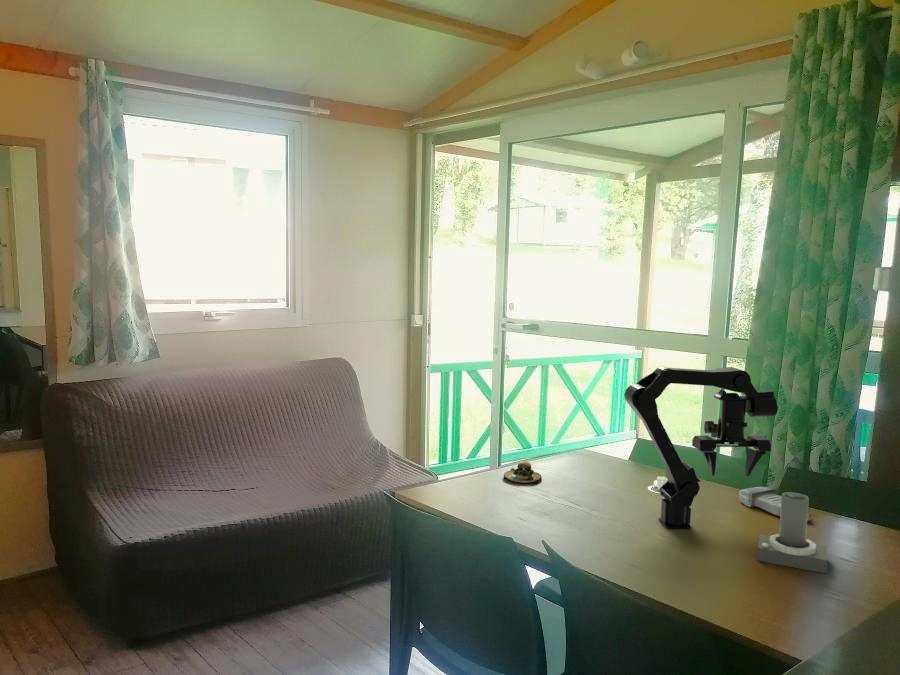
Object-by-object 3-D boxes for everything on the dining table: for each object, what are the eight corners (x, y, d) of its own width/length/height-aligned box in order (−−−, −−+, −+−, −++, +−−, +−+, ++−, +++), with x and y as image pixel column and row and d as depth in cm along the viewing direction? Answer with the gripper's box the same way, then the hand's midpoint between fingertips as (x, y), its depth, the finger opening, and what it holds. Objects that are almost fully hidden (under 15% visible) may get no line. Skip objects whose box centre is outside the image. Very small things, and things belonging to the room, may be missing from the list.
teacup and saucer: (653, 484, 212) (654, 471, 212) (679, 489, 208) (680, 476, 207) (643, 491, 205) (644, 478, 205) (670, 497, 201) (670, 483, 200)
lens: (780, 549, 155) (783, 497, 154) (777, 540, 160) (780, 490, 159) (809, 553, 153) (812, 500, 152) (804, 544, 158) (808, 493, 157)
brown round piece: (495, 479, 214) (496, 456, 214) (520, 472, 222) (521, 450, 222) (524, 489, 206) (525, 464, 205) (549, 481, 214) (550, 458, 213)
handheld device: (798, 527, 178) (799, 509, 177) (734, 503, 196) (735, 487, 195) (822, 521, 182) (823, 504, 182) (758, 498, 200) (759, 483, 200)
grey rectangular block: (756, 560, 156) (757, 543, 155) (759, 546, 164) (760, 529, 164) (826, 574, 149) (827, 555, 149) (825, 558, 158) (826, 540, 157)
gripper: (753, 410, 184) (749, 466, 186) (685, 410, 183) (682, 466, 185) (774, 419, 173) (770, 479, 174) (702, 419, 172) (699, 479, 174)
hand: (729, 475), depth 177 cm, fingers open, 9 cm apart
